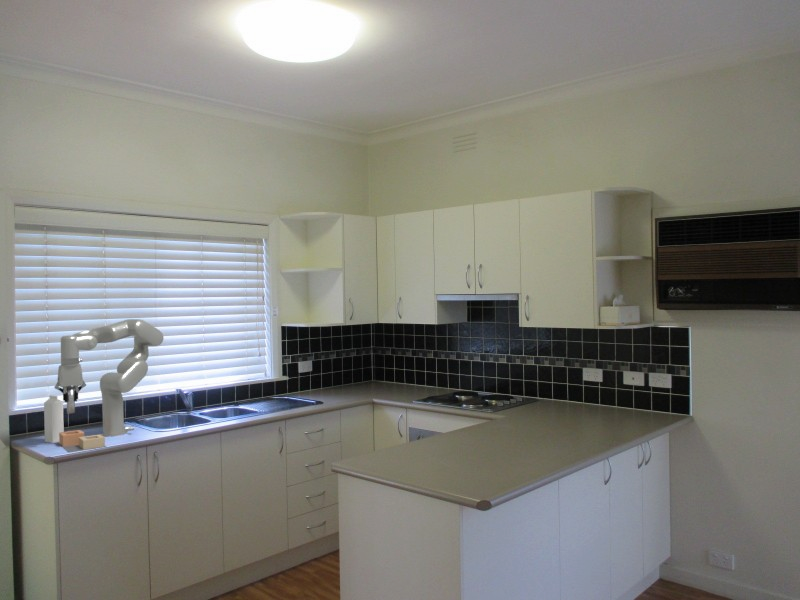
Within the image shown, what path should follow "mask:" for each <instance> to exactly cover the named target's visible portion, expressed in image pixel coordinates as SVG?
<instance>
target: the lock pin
mask: <svg viewBox="0 0 800 600" xmlns="http://www.w3.org/2000/svg"><path fill="white" fill-rule="evenodd" d="M66 392H67V401H68V402H66V415H67V414H68V415H70V414H71V415H72V414H75V413H76V401H75V386H73V385H72V386H68V387H67V390H66Z"/></svg>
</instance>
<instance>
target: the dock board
mask: <svg viewBox="0 0 800 600" xmlns="http://www.w3.org/2000/svg"><path fill="white" fill-rule="evenodd" d="M100 434H101V433H99V434H93V435H87V436H86V435H85V432H84V431H83V430H81V429H78V430H77V429H76V430H69V431H64V432H60V433H59V442H57V444H58V445H59V446H60V447H62V449H63V450H64V451H65V452H67V453H74V452H75V453H76V452H81V451H82V452H83V451H88V450H95V449H102V448H107V445H106V444H105V443H106V440H105V439H106V437H103V436H102V435H100Z"/></svg>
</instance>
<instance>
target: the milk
mask: <svg viewBox="0 0 800 600" xmlns="http://www.w3.org/2000/svg"><path fill="white" fill-rule="evenodd" d="M43 415H44V416H43V418H44V420H43V421H44V423H43V424H44V442H45V443H50V444H53V443H59V433H60V432H65V430H64V429H65V428H64V401H62V400H60V399H58V396H57V395H49V397H48V399H47V400H46V401H45V402H43Z"/></svg>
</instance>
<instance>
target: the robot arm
mask: <svg viewBox="0 0 800 600" xmlns="http://www.w3.org/2000/svg"><path fill="white" fill-rule="evenodd" d="M129 337H133V349H132V350H131V352H130V353H129V354H128V355H127V356H125V358H123V359H122V360H121V361H120V362H119V364H117V367H116V372H112V371H111V372H106V373H105V374H103V375H102V376H101V378H100V380H99V389H100V393H101V400H102V402H101V403H102V406H101V407H102V408H101V410H102V433H99V434H100V435H102V436H103V437H105V438H111V437H112V438H113V437H120V436H124V435H127V434H128V431H134V430H135V426H134V425H133V426H125V424H124V423H125V421H124V420H125V419H124V418H125V417H124V399H123V398H124V396H123V394H125V393H129V392H130V391H132V390H133V389H134V388H135V387H136V386H137V385H138V384H139V383H140V382H141V381H142V380H143V379H144V378H145V377H146V375H147V373H148V370H149V365H148V363H147V362H146V361H147V360H148V358H149V356H150V355H149V354H150V353H149V347H158V346H160V345H161V344H162V343H163V342H164V334H163V332H162V330H160V329H158V328H157V327H155V326H153V325H151V324H150V323H149V322H147V321H146V320H143V319H139V318H138V319H134V318H133V319H132V318H131V319H124V320H121V321H118V322H115V323H111V324H108V325H104V326H99V327H96V328H91V329H86V330H83V331H79V332H76V333H74V334H72V335H63V336H61V338H60V365H59V366H58V368H57V382H56V383H55V385H54V387H53V388H54V389H55V390H58V391H59V392H61V393H62V400H63V401H62V402H65V403H67V402H68V401H67V392H66V390H67V387H68V386H72V385H73V386H75V402H78V400H79V392H80V391H81V390H82V389H83V388H85V387H86V386H87V384H86V382H85V381H84V377H83V369H82V365H81V364H80V363H82V362H83V358H80V351H81V350H82V351H90V350H93V349H95V348H97V345H98V344H108V343H114V342H117V341H120V340H123V339H125V338H129Z"/></svg>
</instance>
